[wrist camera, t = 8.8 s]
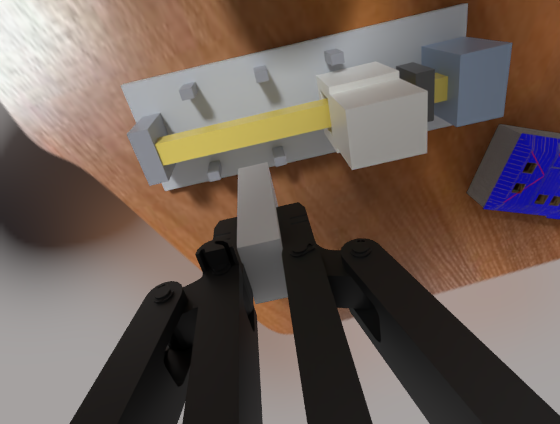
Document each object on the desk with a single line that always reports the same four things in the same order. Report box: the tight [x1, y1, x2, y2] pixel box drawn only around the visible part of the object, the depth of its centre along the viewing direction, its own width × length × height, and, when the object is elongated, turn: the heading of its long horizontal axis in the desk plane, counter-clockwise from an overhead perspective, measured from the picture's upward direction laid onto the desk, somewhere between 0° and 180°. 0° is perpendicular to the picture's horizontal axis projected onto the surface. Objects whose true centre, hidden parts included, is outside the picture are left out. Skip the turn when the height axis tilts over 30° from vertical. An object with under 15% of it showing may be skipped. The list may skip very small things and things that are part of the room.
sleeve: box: [316, 61, 428, 170], centre depth 26 cm, size 5×5×9 cm
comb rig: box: [121, 3, 512, 191], centre depth 29 cm, size 29×10×7 cm, turn 102°
